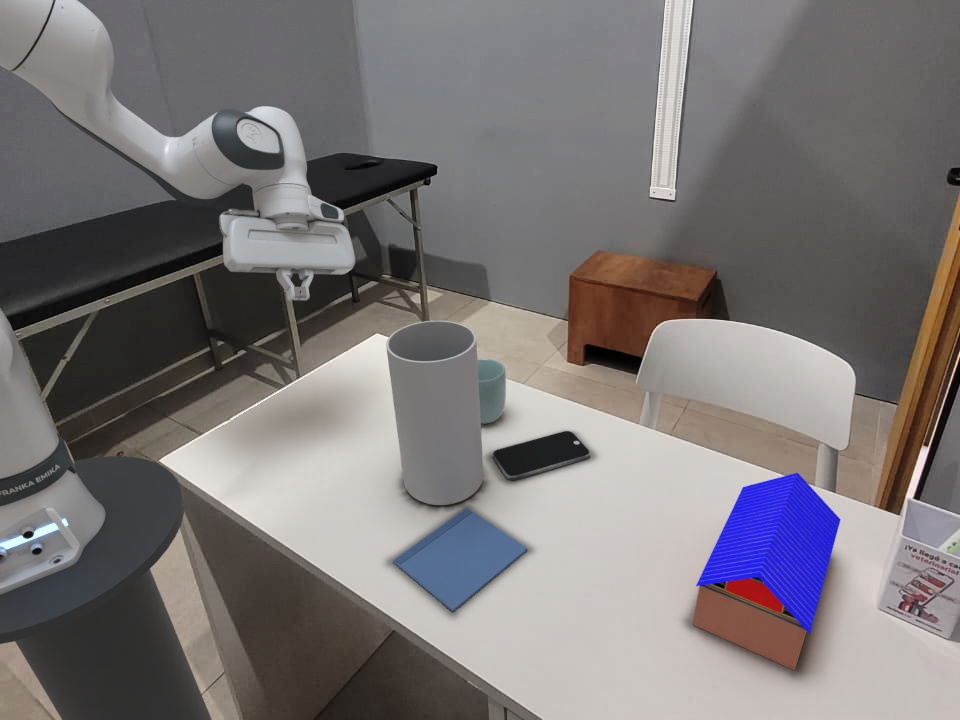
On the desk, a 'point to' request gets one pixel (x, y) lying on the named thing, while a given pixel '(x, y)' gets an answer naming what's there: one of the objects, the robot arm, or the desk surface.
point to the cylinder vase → (437, 410)
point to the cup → (491, 389)
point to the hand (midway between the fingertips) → (298, 299)
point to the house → (768, 568)
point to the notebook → (459, 558)
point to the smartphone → (540, 455)
